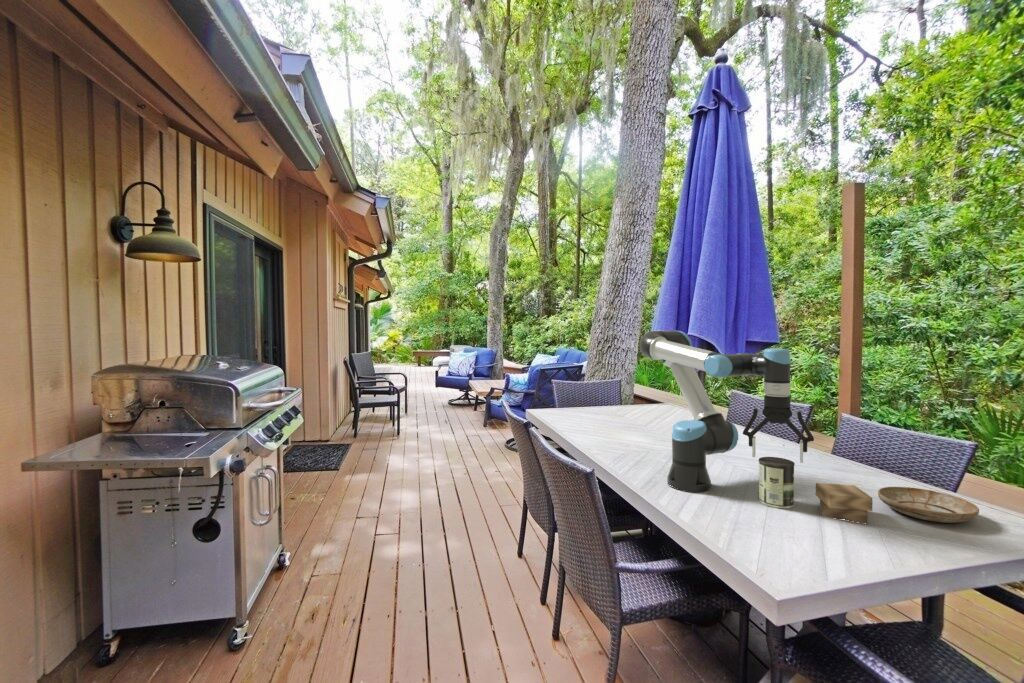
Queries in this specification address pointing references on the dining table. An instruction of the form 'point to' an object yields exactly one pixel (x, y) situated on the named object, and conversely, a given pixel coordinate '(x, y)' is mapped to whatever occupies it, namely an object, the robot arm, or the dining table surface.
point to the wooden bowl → (928, 504)
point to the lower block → (844, 513)
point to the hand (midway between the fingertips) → (777, 459)
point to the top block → (843, 496)
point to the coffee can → (776, 482)
